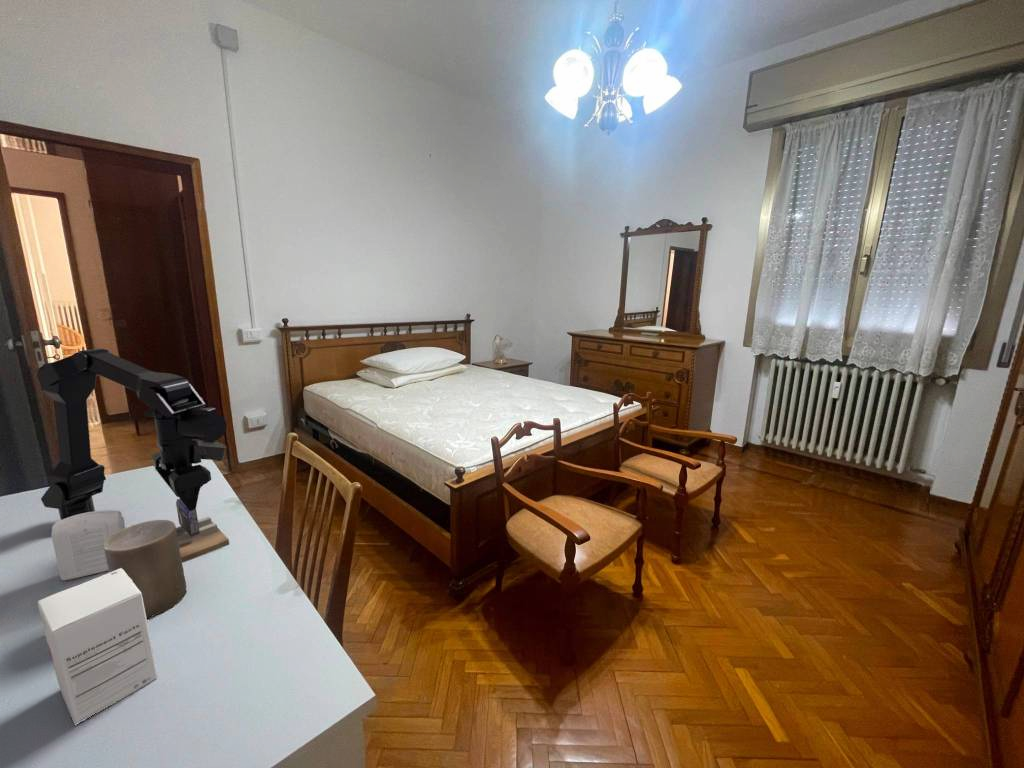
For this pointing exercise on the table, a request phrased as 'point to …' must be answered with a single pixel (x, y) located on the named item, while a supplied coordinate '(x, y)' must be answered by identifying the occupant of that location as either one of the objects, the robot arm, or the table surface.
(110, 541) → the pillar candle
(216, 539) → the rail panel
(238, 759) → the table surface
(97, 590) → the supplement box
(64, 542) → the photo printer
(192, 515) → the mini dv tape
